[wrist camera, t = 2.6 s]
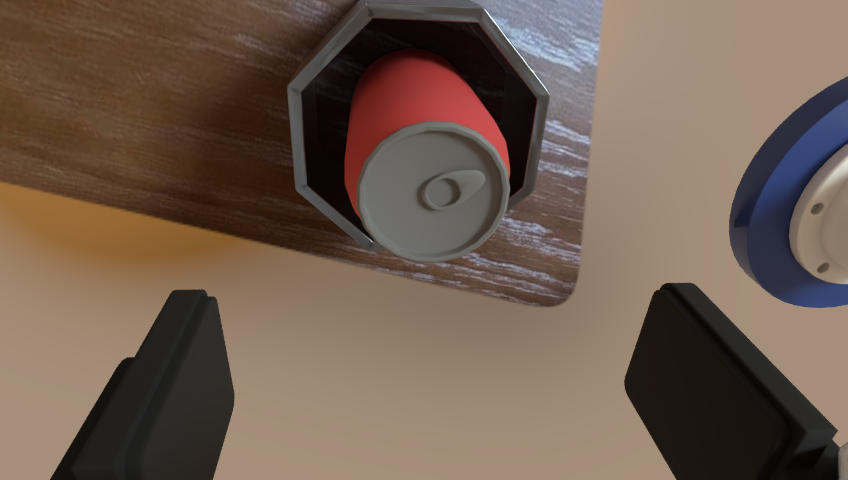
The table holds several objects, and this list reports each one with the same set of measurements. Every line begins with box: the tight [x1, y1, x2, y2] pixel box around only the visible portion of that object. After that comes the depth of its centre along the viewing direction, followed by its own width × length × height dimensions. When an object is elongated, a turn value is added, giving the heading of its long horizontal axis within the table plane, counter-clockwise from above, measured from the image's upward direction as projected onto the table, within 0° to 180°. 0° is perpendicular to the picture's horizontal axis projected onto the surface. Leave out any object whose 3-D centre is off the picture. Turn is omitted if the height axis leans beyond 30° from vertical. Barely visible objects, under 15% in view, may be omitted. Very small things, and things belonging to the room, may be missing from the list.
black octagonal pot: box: [287, 0, 550, 251], centre depth 26 cm, size 12×12×6 cm
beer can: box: [345, 48, 510, 263], centre depth 23 cm, size 7×7×12 cm
